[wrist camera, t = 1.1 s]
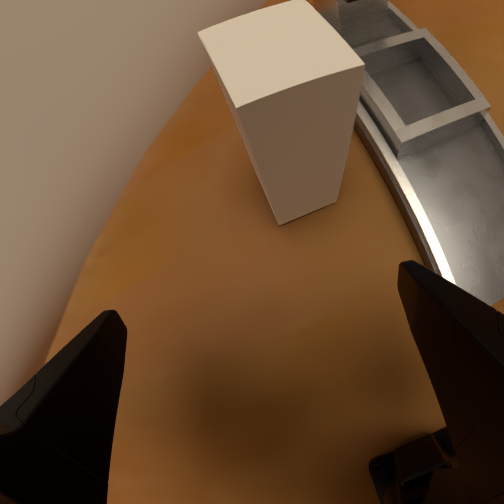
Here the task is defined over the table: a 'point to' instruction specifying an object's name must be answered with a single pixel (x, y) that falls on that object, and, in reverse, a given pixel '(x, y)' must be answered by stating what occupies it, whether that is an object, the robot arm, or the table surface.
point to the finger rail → (429, 143)
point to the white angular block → (289, 100)
